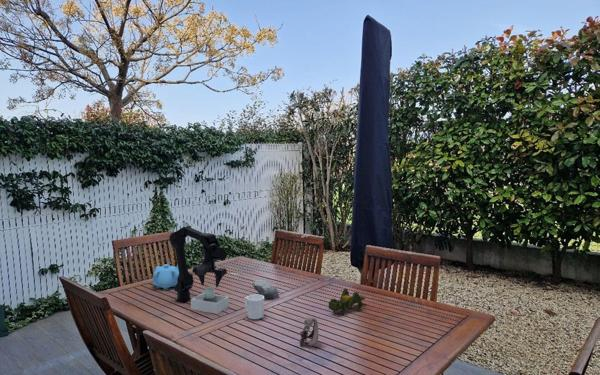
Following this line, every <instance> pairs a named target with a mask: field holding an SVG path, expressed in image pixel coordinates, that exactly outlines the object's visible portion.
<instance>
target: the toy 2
mask: <svg viewBox="0 0 600 375" xmlns="http://www.w3.org/2000/svg"><path fill="white" fill-rule="evenodd" d="M365 299H366V297H365V296H362V295H361V296H360V294H359V293H358V292H357V291H355V292H353V294H352V296H350V294H349V289H347V288H343V290H342V293H341V296H340V299H338V300H337V299H336V298H332V299H331V298H330V301H328V310H330V311H332V312H334V313H336V312H338V311H340V313H339V314H340V315H341V314H342V315H341V316H344V314H345V312H346V311H347V308H350V309H351V308H352V306H354V305H356V304H357V305H356V306H355V307H356V308H355V309H356V310H357V309H358V310H357V311H359V310H360V311H361V309H362V307H363V305H364V304H363V302H362V301H363V300H365Z"/></svg>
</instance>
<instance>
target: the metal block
mask: <svg viewBox="0 0 600 375" xmlns="http://www.w3.org/2000/svg"><path fill="white" fill-rule="evenodd" d="M203 301H209V302H215V303H216V296H215V297H214V298H211V299H206V298H205V297H204V298H203Z"/></svg>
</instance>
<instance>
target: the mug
mask: <svg viewBox="0 0 600 375" xmlns="http://www.w3.org/2000/svg"><path fill="white" fill-rule="evenodd" d="M243 301H244V302H243V303H244V305H245V308H246V310H247V319H248V320H251V321H259V320H262V319H264V312H265V310H264V309H265V306H264V305H265V304H264V303H265V298H264V296H263V295H259V293H258V294H250V295H247V296H245V297H244V299H243Z"/></svg>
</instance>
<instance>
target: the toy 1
mask: <svg viewBox="0 0 600 375" xmlns="http://www.w3.org/2000/svg"><path fill="white" fill-rule="evenodd" d="M318 323H319V322H318V319H317V318H315V317H314V314H313V315H312V318H311V317H310V316H306V317H305V318H304V320H303V324H304V328H303V330H302V331H300V332H299V334H300V341H299V344H300V345H299V347H303V345H304V344H306V343H307V341H308V339H311V340H310V342H309V343H308V344H307V345H308V346H311V347H312V348H315V346H316V345H317V344H318V342H319V341H318V340H319V324H318ZM312 325H313V328H312V331H311V333H309V331H310V329H311V326H312Z"/></svg>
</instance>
